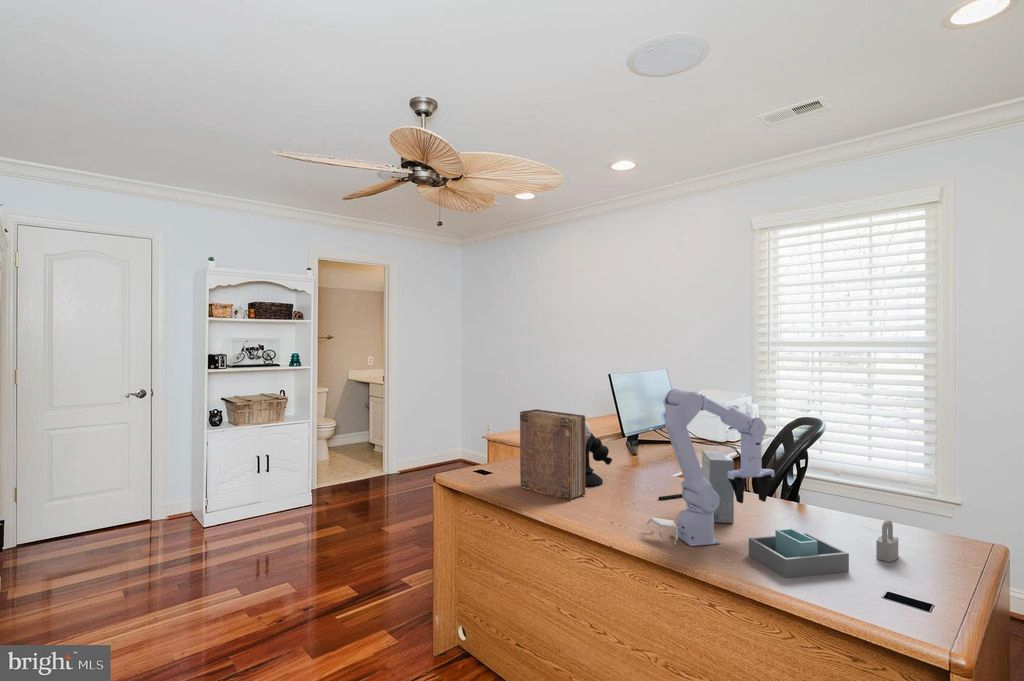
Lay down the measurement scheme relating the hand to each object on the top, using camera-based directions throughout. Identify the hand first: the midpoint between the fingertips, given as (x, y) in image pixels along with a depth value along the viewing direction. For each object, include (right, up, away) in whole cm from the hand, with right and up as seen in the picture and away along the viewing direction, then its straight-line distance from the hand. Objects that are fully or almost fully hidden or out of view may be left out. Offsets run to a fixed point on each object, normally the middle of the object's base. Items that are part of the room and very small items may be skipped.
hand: (751, 501), depth 156 cm
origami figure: (-27, -10, -3) cm, 29 cm away
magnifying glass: (-4, -10, +37) cm, 39 cm away
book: (-57, -10, +43) cm, 71 cm away
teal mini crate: (+2, -8, -21) cm, 22 cm away
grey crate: (+2, -9, -21) cm, 23 cm away
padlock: (+28, -10, -18) cm, 35 cm away
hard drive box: (-4, -10, +15) cm, 19 cm away
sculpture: (-39, -10, +58) cm, 71 cm away
